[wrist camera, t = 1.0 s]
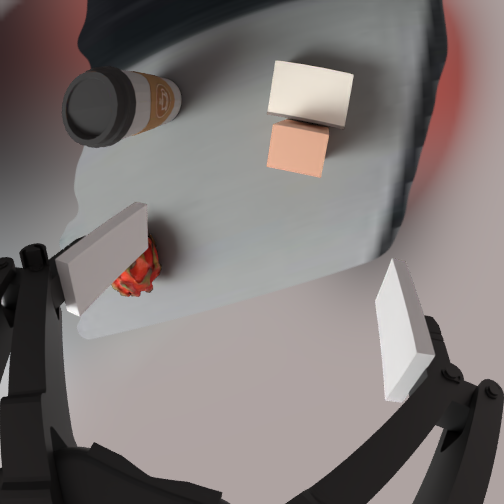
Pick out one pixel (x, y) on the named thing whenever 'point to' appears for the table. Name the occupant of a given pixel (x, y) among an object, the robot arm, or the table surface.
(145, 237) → the robot arm
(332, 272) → the table surface
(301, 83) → the cream white block
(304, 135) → the salmon orange rectangular block
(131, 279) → the dragon fruit
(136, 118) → the coffee cup
